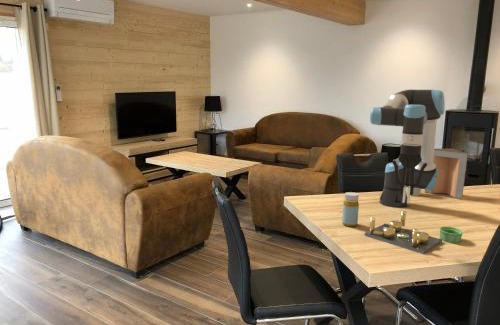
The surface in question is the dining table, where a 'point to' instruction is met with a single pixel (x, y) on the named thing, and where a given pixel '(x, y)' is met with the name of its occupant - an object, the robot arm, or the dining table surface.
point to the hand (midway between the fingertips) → (405, 202)
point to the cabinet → (449, 173)
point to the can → (415, 192)
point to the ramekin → (450, 234)
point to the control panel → (405, 240)
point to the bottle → (350, 209)
